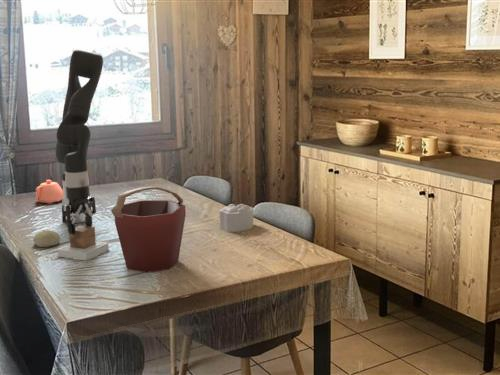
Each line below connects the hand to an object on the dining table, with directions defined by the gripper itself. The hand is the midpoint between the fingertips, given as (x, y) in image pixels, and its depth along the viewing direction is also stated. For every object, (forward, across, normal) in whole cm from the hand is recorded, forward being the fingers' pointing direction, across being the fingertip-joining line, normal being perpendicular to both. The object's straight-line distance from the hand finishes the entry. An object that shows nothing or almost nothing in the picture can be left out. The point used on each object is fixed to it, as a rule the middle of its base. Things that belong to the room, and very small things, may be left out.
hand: (80, 230), depth 207 cm
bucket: (+8, 0, +28) cm, 29 cm away
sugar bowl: (+9, -54, -64) cm, 84 cm away
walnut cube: (+5, 0, 0) cm, 5 cm away
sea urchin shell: (+9, -3, -18) cm, 21 cm away
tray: (+8, 0, 0) cm, 8 cm away
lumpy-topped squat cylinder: (+8, -48, +36) cm, 61 cm away
